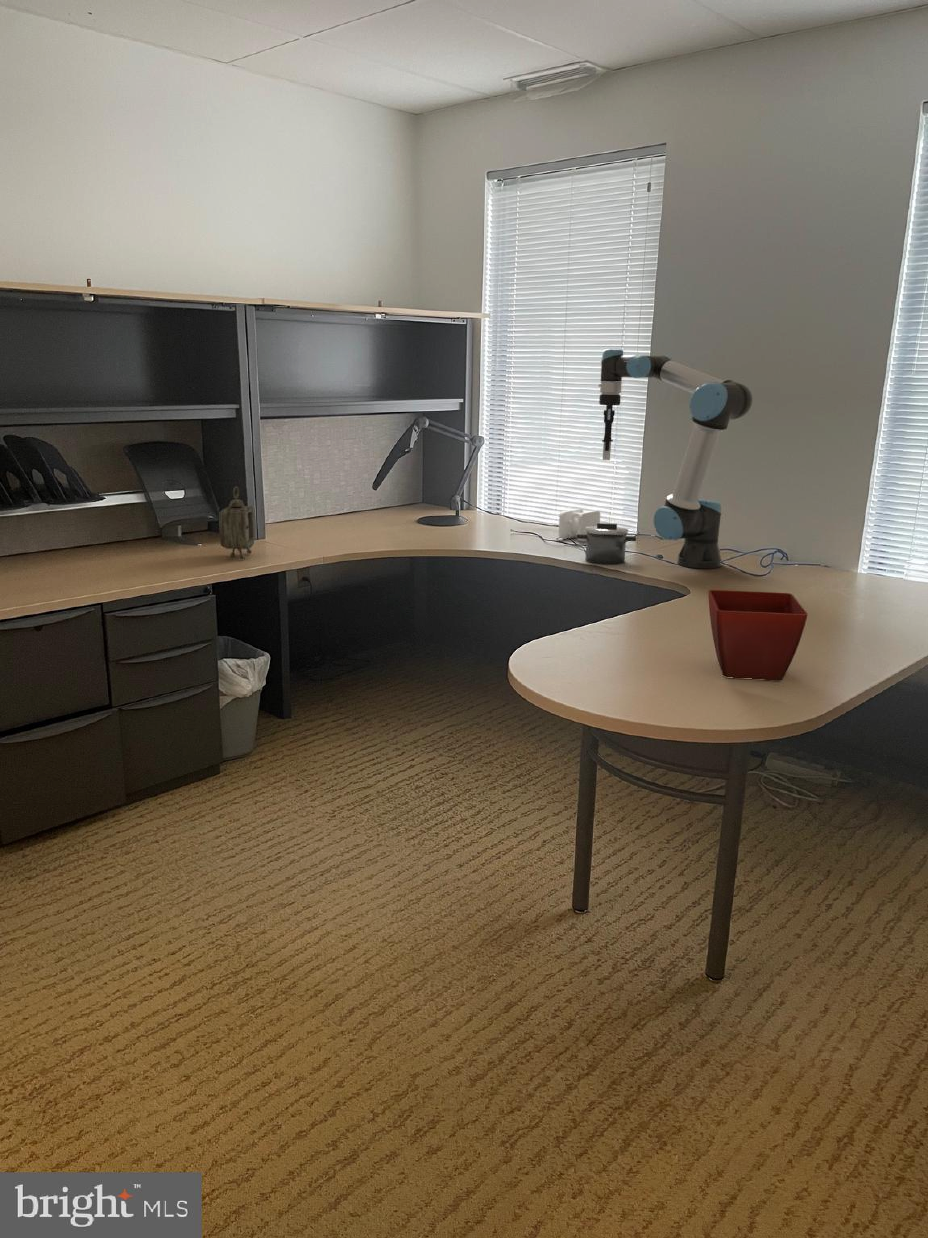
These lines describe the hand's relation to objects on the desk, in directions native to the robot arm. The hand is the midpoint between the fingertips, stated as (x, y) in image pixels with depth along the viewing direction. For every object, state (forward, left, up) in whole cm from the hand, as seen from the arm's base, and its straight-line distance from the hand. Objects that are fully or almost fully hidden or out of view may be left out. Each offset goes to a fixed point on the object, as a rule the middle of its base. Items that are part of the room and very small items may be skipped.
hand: (606, 459), depth 331 cm
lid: (-10, +14, -24) cm, 30 cm away
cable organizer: (+20, -16, -35) cm, 43 cm away
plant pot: (-98, +99, -35) cm, 144 cm away
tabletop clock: (+89, +100, -35) cm, 138 cm away
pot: (-10, +14, -34) cm, 38 cm away
